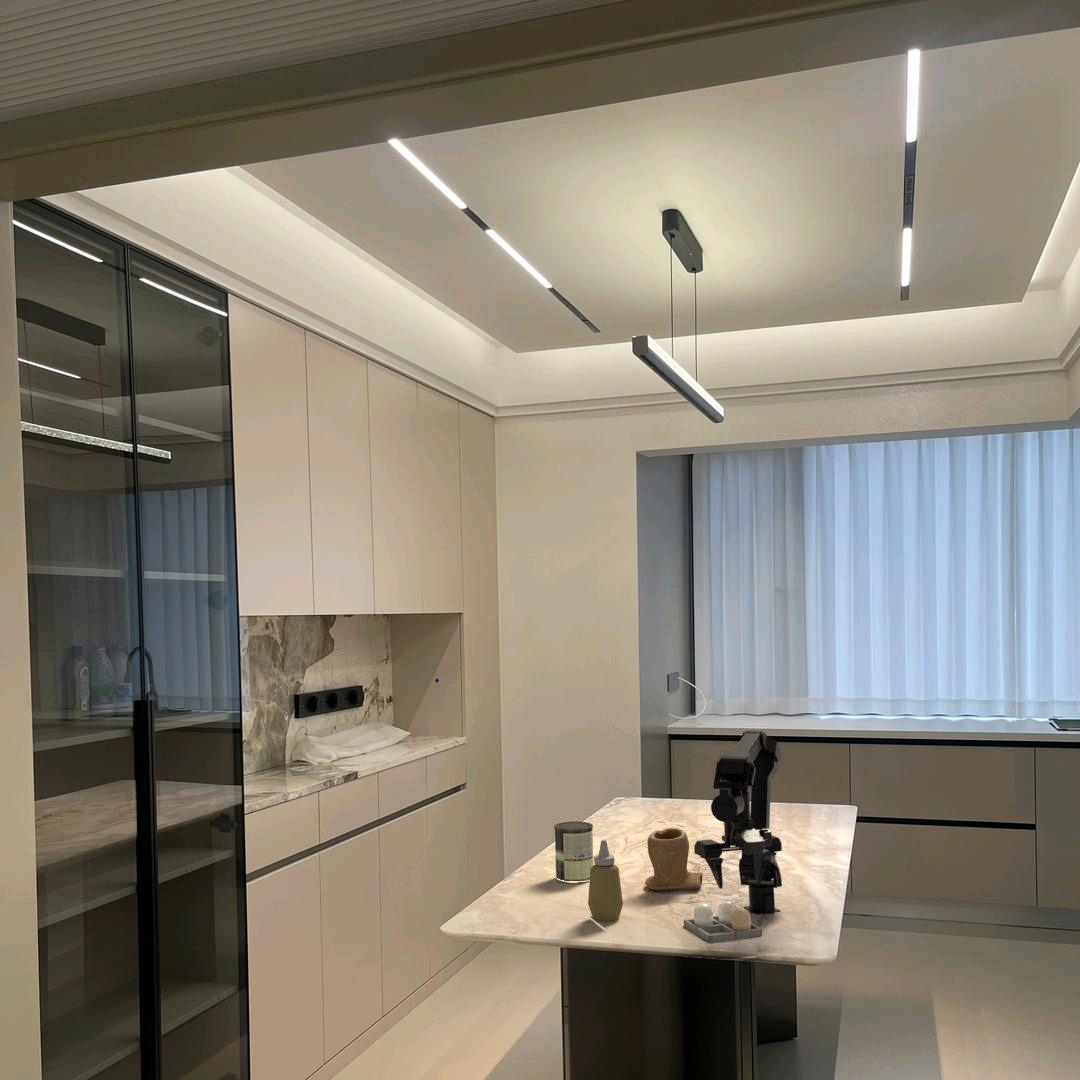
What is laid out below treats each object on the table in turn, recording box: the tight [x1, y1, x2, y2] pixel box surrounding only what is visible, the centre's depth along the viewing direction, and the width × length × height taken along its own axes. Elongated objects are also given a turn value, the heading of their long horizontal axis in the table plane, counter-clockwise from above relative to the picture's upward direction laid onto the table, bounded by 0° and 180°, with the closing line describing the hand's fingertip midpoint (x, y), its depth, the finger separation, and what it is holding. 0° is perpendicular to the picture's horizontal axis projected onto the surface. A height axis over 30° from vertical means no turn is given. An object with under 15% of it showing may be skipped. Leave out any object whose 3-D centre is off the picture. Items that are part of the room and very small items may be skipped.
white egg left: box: [717, 900, 738, 924], centre depth 237 cm, size 4×4×5 cm
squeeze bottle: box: [587, 839, 624, 923], centre depth 246 cm, size 8×8×18 cm
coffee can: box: [554, 820, 594, 881], centre depth 284 cm, size 10×10×14 cm
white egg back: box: [693, 903, 714, 927], centre depth 236 cm, size 4×4×5 cm
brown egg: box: [731, 907, 752, 931], centre depth 232 cm, size 4×4×5 cm
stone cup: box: [644, 827, 704, 891], centre depth 271 cm, size 15×12×15 cm
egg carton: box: [683, 915, 763, 943], centre depth 234 cm, size 13×13×2 cm
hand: (739, 886), depth 232 cm, fingers open, 9 cm apart
